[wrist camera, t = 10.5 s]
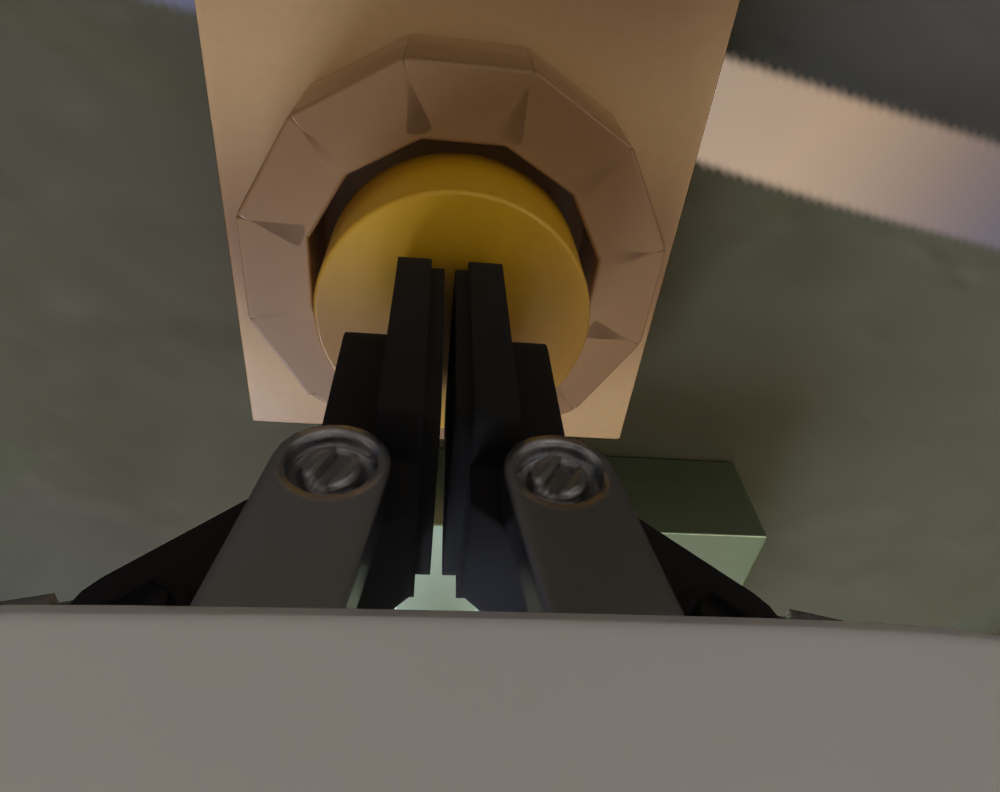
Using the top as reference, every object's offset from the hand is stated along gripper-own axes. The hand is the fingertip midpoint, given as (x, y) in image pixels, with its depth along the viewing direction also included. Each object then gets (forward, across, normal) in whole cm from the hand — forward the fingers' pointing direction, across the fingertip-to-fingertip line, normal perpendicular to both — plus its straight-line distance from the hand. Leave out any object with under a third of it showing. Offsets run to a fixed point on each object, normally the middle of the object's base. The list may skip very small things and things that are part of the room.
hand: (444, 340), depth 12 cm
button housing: (+6, 0, 0) cm, 6 cm away
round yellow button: (+2, 0, 0) cm, 2 cm away
